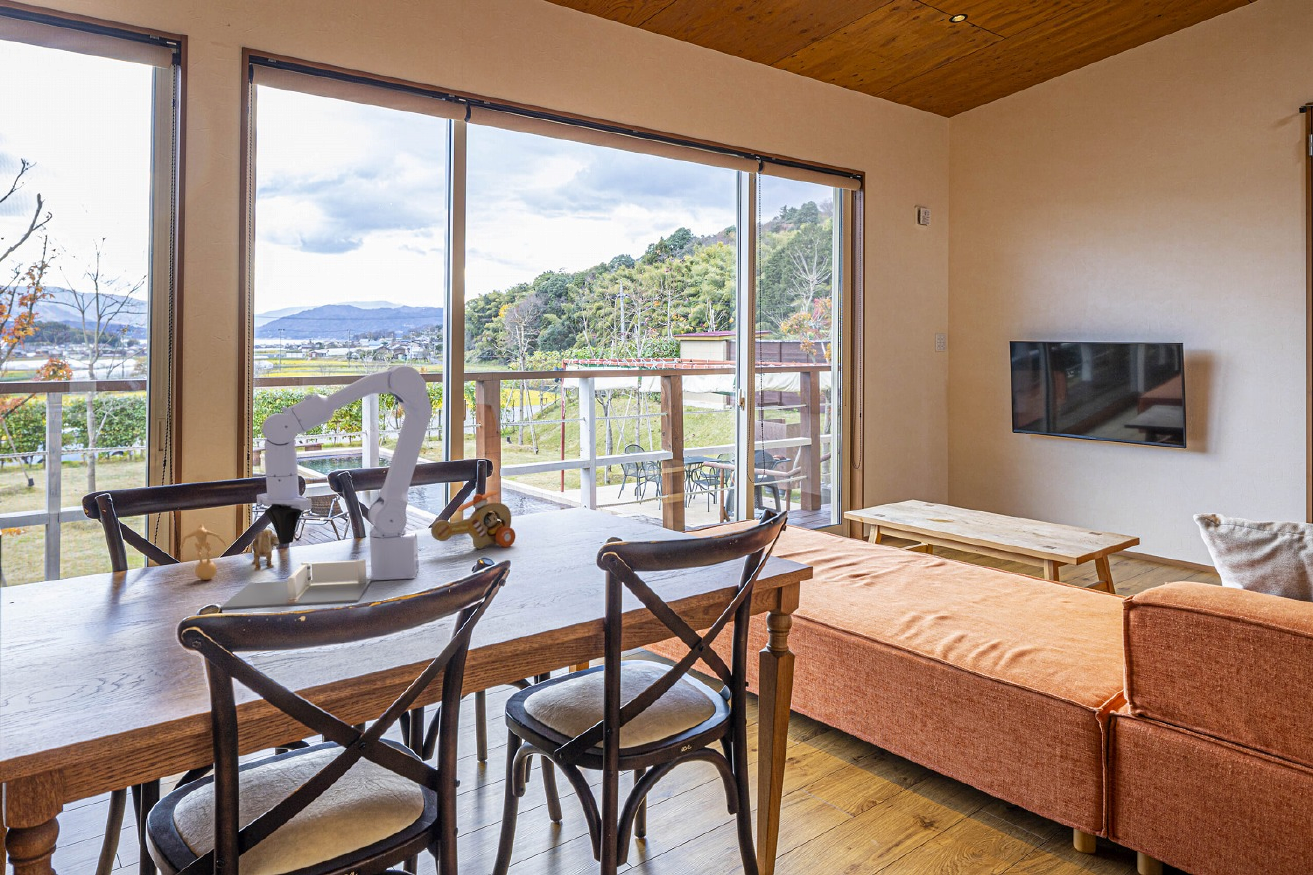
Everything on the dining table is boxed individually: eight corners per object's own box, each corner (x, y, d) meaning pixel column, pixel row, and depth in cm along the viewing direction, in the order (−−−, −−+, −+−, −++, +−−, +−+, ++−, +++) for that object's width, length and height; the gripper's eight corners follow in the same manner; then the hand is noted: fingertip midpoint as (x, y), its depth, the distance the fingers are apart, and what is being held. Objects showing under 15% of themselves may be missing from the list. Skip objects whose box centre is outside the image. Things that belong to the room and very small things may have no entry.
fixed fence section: (367, 581, 166) (366, 559, 166) (365, 583, 165) (364, 561, 164) (303, 584, 164) (302, 562, 164) (301, 586, 163) (300, 564, 162)
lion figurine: (284, 570, 177) (281, 529, 176) (257, 574, 174) (254, 532, 173) (269, 556, 189) (267, 518, 188) (244, 560, 186) (241, 521, 185)
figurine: (230, 575, 173) (226, 519, 172) (226, 582, 168) (222, 524, 166) (185, 579, 170) (181, 522, 169) (179, 586, 165) (175, 528, 163)
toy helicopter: (520, 545, 199) (518, 489, 197) (442, 560, 184) (440, 500, 183) (501, 539, 205) (499, 485, 203) (425, 554, 190) (422, 495, 189)
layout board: (373, 578, 169) (373, 576, 169) (357, 601, 154) (357, 599, 154) (249, 584, 166) (249, 582, 166) (220, 609, 150) (220, 606, 150)
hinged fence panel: (301, 583, 162) (300, 565, 162) (308, 583, 162) (307, 564, 162) (287, 598, 152) (286, 578, 152) (295, 598, 153) (294, 578, 152)
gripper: (240, 475, 161) (245, 542, 162) (286, 480, 153) (291, 551, 155) (273, 470, 167) (277, 535, 168) (319, 475, 159) (323, 543, 161)
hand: (286, 542), depth 162 cm, fingers closed
